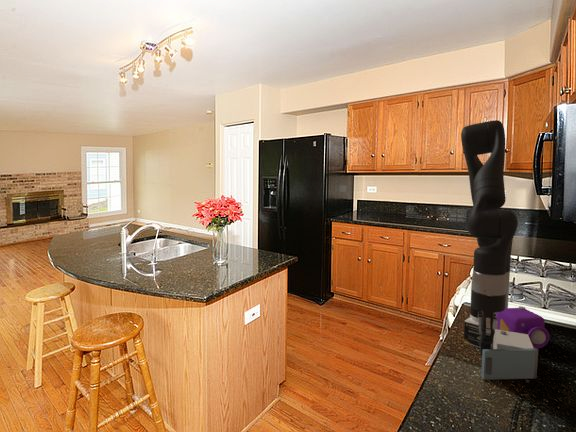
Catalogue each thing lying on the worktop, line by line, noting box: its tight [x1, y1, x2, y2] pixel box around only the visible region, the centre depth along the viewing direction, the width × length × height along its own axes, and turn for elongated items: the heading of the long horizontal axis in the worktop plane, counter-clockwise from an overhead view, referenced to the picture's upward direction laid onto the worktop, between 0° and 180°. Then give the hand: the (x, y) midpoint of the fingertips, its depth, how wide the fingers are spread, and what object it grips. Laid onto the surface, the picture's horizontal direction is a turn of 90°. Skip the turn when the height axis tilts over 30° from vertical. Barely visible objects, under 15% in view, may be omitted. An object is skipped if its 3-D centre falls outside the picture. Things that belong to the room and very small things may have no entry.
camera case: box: [492, 329, 534, 349], centre depth 92 cm, size 10×9×8 cm
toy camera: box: [497, 305, 550, 350], centre depth 103 cm, size 11×14×10 cm
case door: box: [480, 347, 539, 381], centre depth 84 cm, size 2×14×7 cm, turn 92°
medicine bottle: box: [463, 304, 498, 349], centre depth 104 cm, size 7×7×12 cm
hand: (485, 354), depth 87 cm, fingers closed
